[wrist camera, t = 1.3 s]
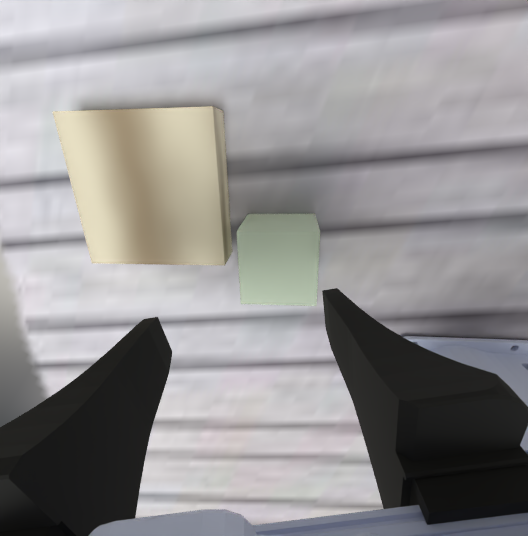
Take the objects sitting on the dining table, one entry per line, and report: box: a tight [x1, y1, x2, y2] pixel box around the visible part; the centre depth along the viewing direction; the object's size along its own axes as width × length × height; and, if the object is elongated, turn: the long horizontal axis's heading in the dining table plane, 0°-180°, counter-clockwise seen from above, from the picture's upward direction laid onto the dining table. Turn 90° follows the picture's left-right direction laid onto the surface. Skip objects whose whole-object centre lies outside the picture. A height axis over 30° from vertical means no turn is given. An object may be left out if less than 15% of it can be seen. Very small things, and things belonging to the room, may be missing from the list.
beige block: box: [53, 106, 232, 265], centre depth 19 cm, size 9×9×3 cm
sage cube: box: [237, 214, 320, 306], centre depth 19 cm, size 4×4×4 cm
